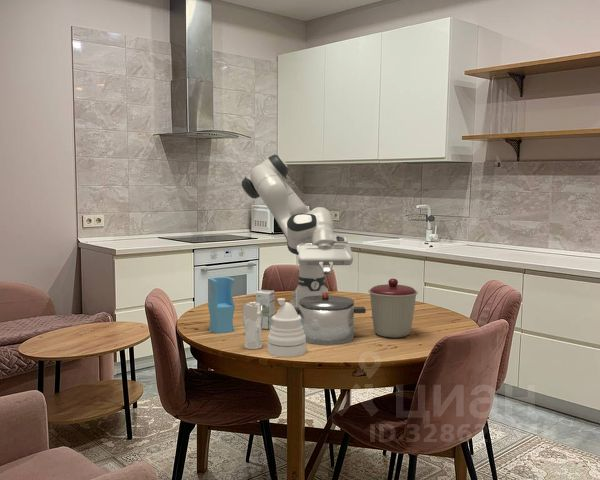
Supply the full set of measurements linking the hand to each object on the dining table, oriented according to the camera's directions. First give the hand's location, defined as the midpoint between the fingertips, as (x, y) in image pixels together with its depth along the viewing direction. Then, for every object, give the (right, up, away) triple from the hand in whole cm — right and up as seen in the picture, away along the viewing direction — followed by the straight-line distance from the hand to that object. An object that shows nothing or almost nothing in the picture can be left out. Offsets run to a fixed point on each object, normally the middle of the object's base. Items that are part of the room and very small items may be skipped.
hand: (326, 273), depth 214 cm
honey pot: (-14, -26, -16) cm, 33 cm away
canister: (+25, -23, +6) cm, 35 cm away
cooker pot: (0, -24, +2) cm, 24 cm away
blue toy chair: (-40, -23, +11) cm, 47 cm away
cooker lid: (0, -11, +1) cm, 11 cm away
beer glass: (-26, -25, -11) cm, 37 cm away
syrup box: (-23, -22, +16) cm, 36 cm away
